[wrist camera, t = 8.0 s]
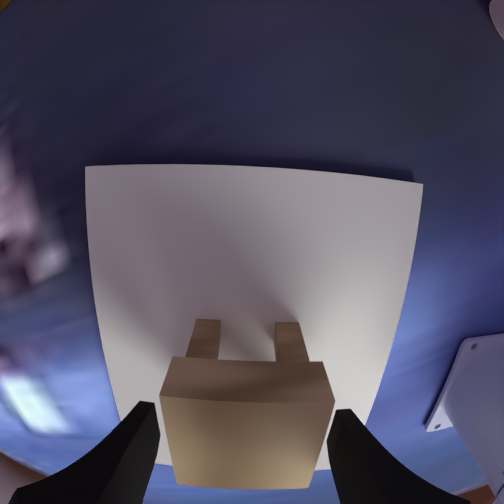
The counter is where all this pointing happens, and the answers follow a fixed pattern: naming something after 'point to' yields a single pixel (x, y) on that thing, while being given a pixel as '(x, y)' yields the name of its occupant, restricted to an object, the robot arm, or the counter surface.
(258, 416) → the stool
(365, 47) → the counter surface
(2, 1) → the disposable coffee cup
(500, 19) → the smoothie
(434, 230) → the counter surface
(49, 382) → the counter surface
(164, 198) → the cutting board
